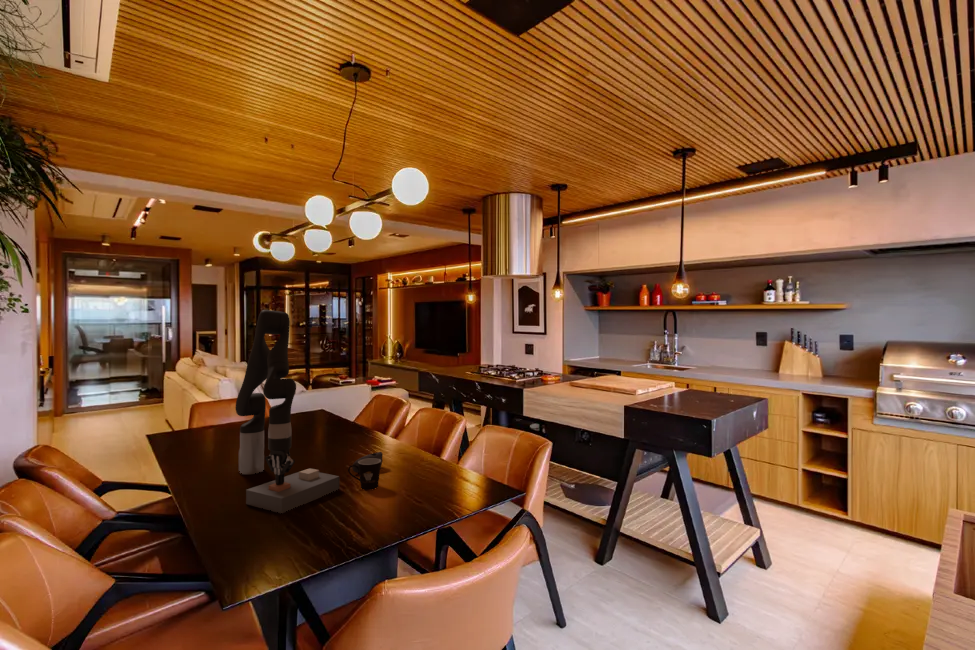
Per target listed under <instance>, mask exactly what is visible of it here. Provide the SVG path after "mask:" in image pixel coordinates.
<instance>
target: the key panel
mask: <svg viewBox="0 0 975 650" xmlns="http://www.w3.org/2000/svg"><path fill="white" fill-rule="evenodd" d="M299 472H300V471H298V472H294V473H291V474H288V475H286V476H285V475H284V482H286V483H291V486H290V488H288V489H285V490H283V491H280V492H276V491H272V490H269V485H272V484H274V483H276V482H275V479H274V480H272V481H268V482H264V483H262V484H260V485H256V486H253V487H250V488H248V489H247V488H246V489H245V504H246V505H248V506H252V507H255V508H259V509H262V508H263V510H267V511H270V510H271V512H274V513H277V512H278V513H277V514H281V513H282V514H284V513H287V512H289V511H291V509H292V510H293V508H294V509H296V508H298V506H299V507H301V506H303V504H304V505H306V504H308V503H310V502H312V501H315V500H318V499H320V498H322V496H323V497H325V496H327V495H329V493H330V494H331V492H332V493H334V492H337V491H339V490H340V476H339V475H334V474H331V473H330V474H329V473H325V472H320V471H319V477H318V478H315V479H312V480H310V481H306V480H301V479H299ZM338 489H339V490H338ZM336 490H337V491H336ZM333 491H334V492H333ZM326 494H327V495H326ZM324 495H325V496H324ZM300 505H301V506H300ZM295 507H296V508H295ZM288 510H289V511H288ZM286 511H287V512H286Z"/></svg>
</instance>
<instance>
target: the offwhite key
mask: <svg viewBox="0 0 975 650" xmlns="http://www.w3.org/2000/svg"><path fill="white" fill-rule="evenodd" d="M298 472H299V479H301V480H306V481H310V480H312V479H315V478H318V477H319V472H320V470H319V469H315V468H311V467H310V468H307V469H304V470H301V471H298Z"/></svg>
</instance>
